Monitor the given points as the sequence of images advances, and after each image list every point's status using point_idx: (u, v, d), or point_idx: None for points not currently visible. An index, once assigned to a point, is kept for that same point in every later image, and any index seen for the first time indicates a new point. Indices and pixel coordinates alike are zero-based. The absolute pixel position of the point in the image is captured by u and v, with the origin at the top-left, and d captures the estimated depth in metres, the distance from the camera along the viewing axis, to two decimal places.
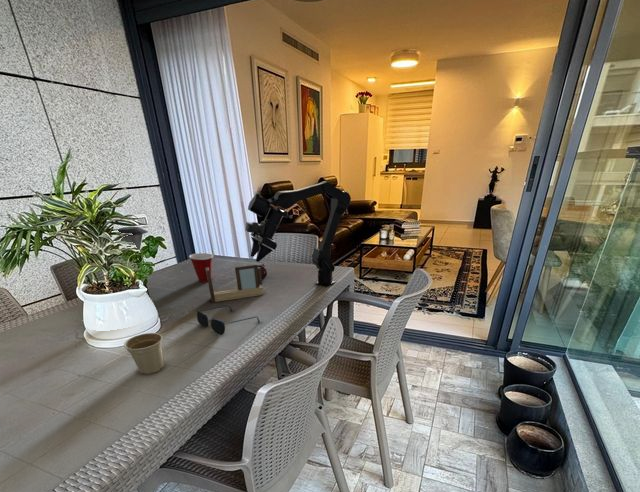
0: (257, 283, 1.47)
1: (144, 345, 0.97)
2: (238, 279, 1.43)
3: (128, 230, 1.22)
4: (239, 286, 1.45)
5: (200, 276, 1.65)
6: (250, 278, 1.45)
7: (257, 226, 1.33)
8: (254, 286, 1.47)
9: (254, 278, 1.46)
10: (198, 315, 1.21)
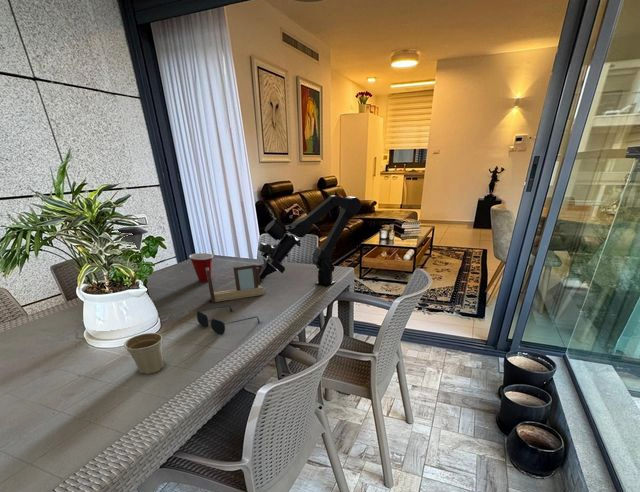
0: (256, 283, 1.47)
1: (144, 345, 0.97)
2: (236, 279, 1.43)
3: (128, 230, 1.22)
4: (237, 286, 1.45)
5: (200, 276, 1.65)
6: (248, 278, 1.45)
7: (270, 248, 1.39)
8: (253, 286, 1.47)
9: (252, 278, 1.45)
10: (198, 315, 1.21)
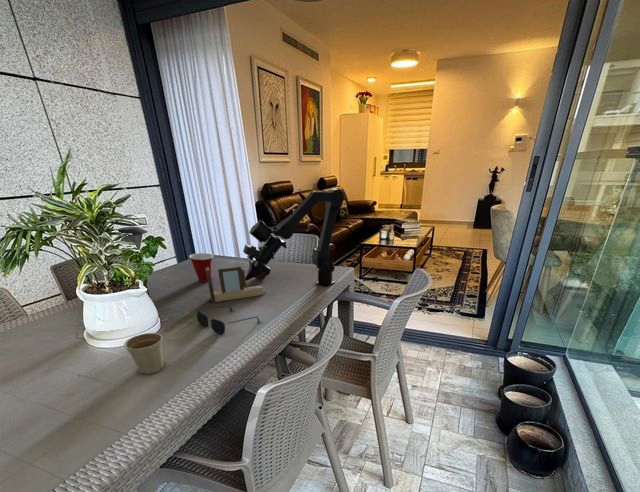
0: (241, 285, 1.45)
1: (144, 345, 0.97)
2: (221, 281, 1.41)
3: (128, 230, 1.22)
4: (223, 288, 1.43)
5: (200, 276, 1.65)
6: (234, 280, 1.43)
7: (255, 250, 1.37)
8: (238, 288, 1.45)
9: (238, 280, 1.44)
10: (198, 315, 1.21)
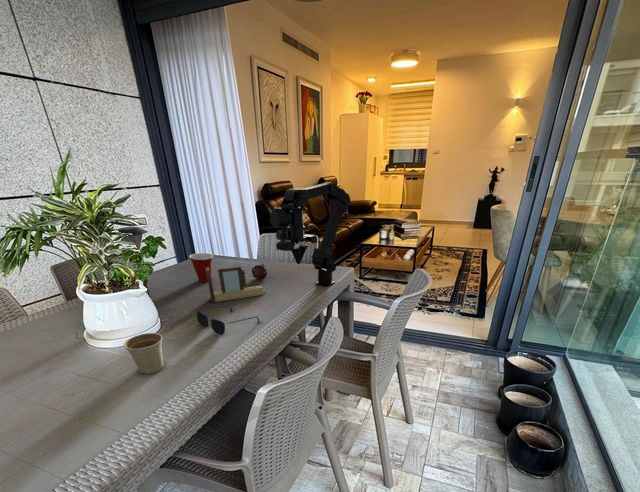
0: (241, 285, 1.45)
1: (144, 345, 0.97)
2: (221, 281, 1.41)
3: (128, 230, 1.22)
4: (223, 288, 1.43)
5: (200, 276, 1.65)
6: (234, 280, 1.43)
7: (279, 234, 1.39)
8: (238, 288, 1.45)
9: (238, 280, 1.44)
10: (198, 315, 1.21)
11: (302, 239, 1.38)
